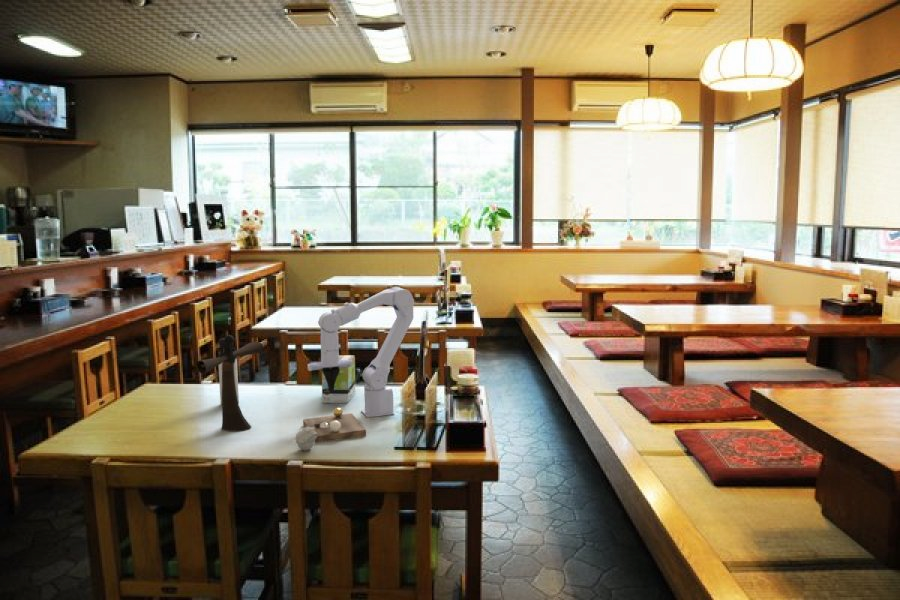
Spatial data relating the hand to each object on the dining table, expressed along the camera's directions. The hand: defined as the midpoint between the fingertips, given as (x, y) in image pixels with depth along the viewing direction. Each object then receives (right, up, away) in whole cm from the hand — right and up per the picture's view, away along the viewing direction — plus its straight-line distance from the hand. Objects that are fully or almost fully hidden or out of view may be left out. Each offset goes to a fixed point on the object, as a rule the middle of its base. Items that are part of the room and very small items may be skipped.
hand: (331, 389), depth 219 cm
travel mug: (-40, -8, +18) cm, 44 cm away
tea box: (-2, -7, +26) cm, 27 cm away
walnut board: (+3, -11, -10) cm, 16 cm away
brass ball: (+3, -7, -3) cm, 8 cm away
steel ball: (0, -10, -12) cm, 16 cm away
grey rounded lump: (-2, -14, -27) cm, 31 cm away
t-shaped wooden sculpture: (-29, -11, -7) cm, 32 cm away
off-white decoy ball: (+4, -9, -18) cm, 20 cm away
